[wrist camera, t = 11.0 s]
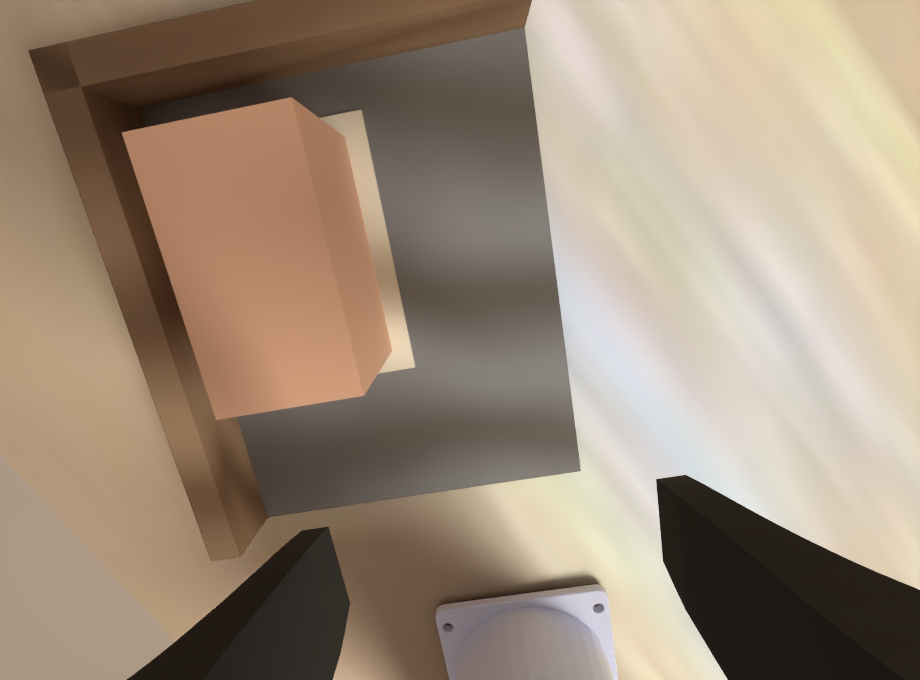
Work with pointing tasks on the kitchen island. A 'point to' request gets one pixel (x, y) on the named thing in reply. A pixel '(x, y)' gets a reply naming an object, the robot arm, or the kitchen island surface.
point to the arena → (388, 232)
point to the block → (265, 254)
